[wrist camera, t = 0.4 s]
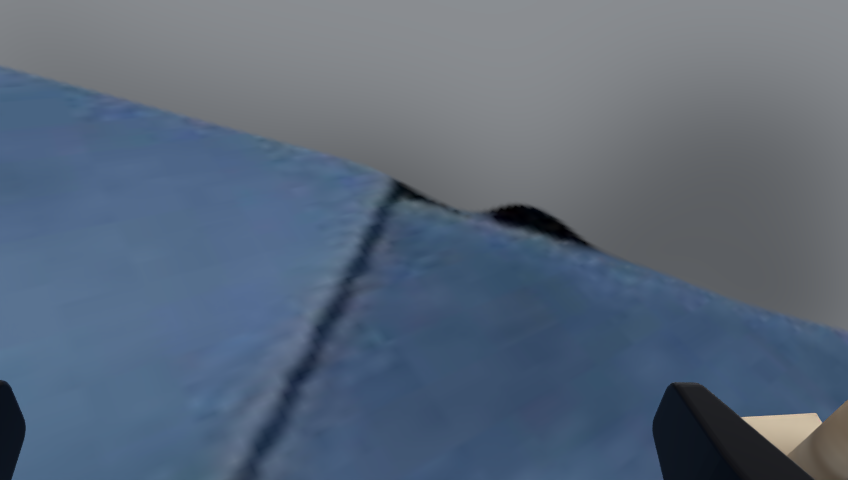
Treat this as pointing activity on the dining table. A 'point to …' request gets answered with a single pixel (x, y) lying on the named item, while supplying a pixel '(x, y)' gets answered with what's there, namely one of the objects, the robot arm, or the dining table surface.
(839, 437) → the hinge post
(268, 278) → the dining table surface
